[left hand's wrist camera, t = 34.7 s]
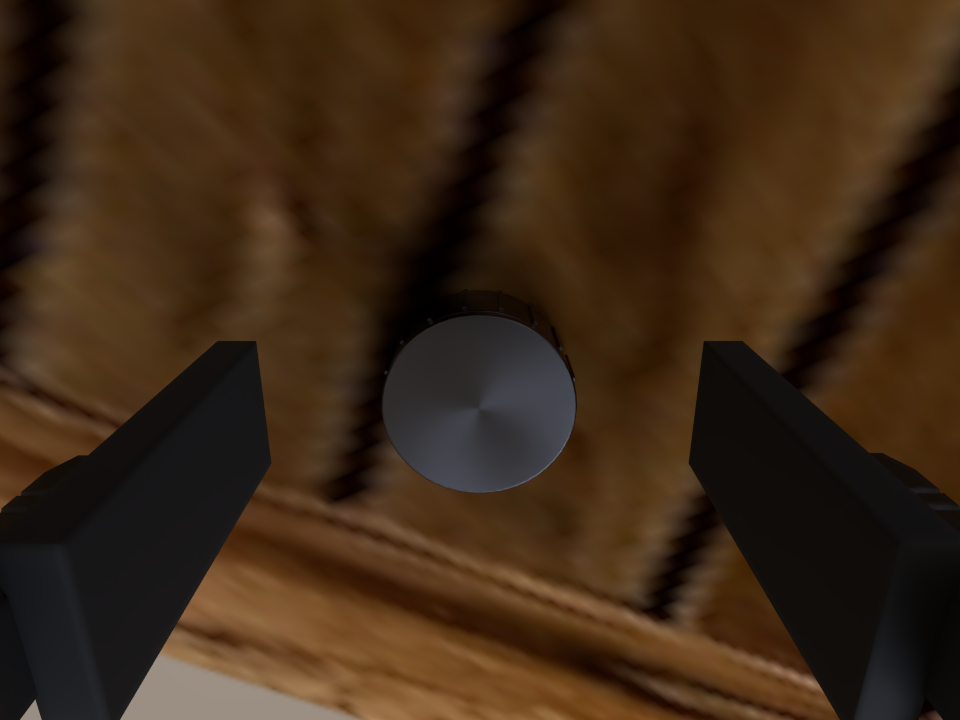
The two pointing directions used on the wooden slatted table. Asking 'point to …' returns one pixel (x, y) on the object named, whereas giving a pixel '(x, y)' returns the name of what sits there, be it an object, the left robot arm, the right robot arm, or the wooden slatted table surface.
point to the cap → (479, 393)
